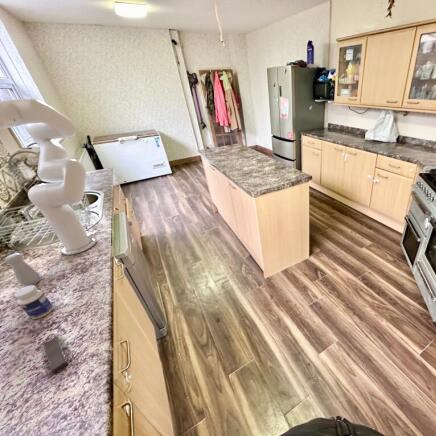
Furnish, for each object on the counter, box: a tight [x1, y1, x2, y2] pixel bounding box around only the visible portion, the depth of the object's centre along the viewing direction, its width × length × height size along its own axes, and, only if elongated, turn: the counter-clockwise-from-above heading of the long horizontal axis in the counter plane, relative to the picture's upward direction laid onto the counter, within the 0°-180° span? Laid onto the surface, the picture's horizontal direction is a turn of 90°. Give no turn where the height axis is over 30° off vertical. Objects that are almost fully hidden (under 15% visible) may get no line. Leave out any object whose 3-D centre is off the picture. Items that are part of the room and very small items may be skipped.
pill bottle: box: [14, 284, 54, 320], centre depth 75 cm, size 6×6×10 cm
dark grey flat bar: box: [43, 335, 69, 374], centre depth 63 cm, size 12×3×1 cm, turn 51°
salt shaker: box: [4, 252, 41, 287], centre depth 87 cm, size 6×6×13 cm
